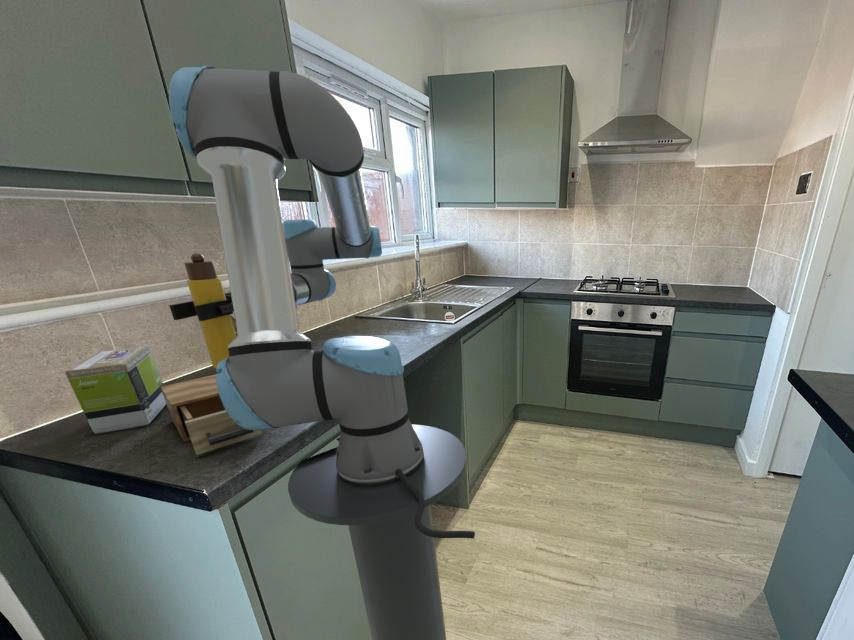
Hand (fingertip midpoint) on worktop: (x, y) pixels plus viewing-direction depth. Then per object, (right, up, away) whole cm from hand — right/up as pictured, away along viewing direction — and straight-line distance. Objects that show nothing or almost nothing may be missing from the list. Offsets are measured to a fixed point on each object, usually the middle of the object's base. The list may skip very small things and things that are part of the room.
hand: (185, 313), depth 75 cm
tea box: (-28, -21, +21) cm, 41 cm away
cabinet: (-8, -21, +18) cm, 29 cm away
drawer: (+1, -24, +9) cm, 25 cm away
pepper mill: (+2, -9, +9) cm, 13 cm away
